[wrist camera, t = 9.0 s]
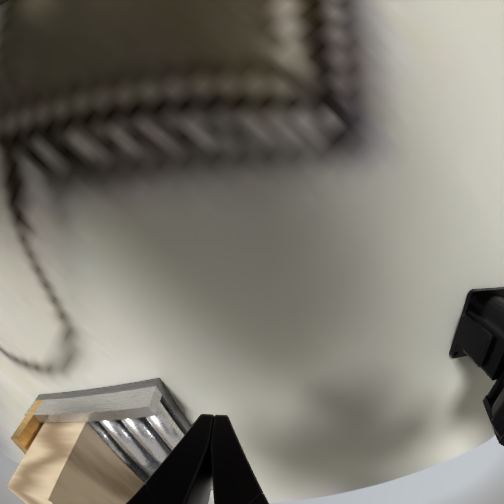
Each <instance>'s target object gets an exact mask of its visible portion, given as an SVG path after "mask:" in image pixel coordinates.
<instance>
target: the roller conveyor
mask: <svg viewBox="0 0 504 504" xmlns="http://www.w3.org/2000/svg"><path fill="white" fill-rule="evenodd" d="M25 416H26V417H25V418H24V419H23V421H22V422H21V424H20V425H19V427H18V428H17V430H16V431H15V433H14V434H13V436H12V437H11V439H12V440H13V441H14V443H15V444H16V445H17V446H18V447H19V448H20V449H21V450H22V451H23V452H24V453H25V454H26V452H27V451H28V449H29V447H30V446H31V444H32V442H33V441H34V439H35V438H36V436H37V434H38V433H39V431H40V429H41V428H42V426H43V425H44V423H45V422H88V424H89V425H90V426H91V427H92V428H93V430H94V431H95V432H96V433H97V434H98V435H99V437H100V438H101V439H102V440H103V441H104V442H105V443H106V444H107V445H108V447H109V448H110V449H111V450H112V451H113V452H114V453H115V454H116V455H117V456H118V457H119V458H120V459H121V460H122V461H123V462H124V463H125V464H126V465H127V466H128V467H129V468H130V469H131V470H132V471H133V472H134V473H135V474H136V475H137V476H138V477H139V478H140V479H141V480H142V481H143V482H144V483H145V482H146V481H147V480H148V479H149V478H150V476H151V475H152V474H153V473H154V472H155V470H156V469H157V468H158V467H159V466H160V464H161V463H162V462H163V461H164V460H165V458H166V457H167V456H168V455H169V454H170V452H171V451H172V450H173V449H174V447H175V446H176V445H177V444H178V443H179V441H180V440H181V439H182V438H183V436H184V435H185V434H186V433H187V431H188V430H189V429H190V427H191V425H190V424H189V422H188V421H187V420H186V418H185V417H184V415H183V414H182V412H181V411H180V409H179V408H178V406H177V405H176V403H175V402H174V400H173V399H172V397H171V396H170V394H169V393H168V391H167V390H166V388H165V387H164V385H163V383H162V382H161V380H160V379H159V378H156V379H151V380H146V381H140V382H134V383H129V384H122V385H116V386H110V387H103V388H96V389H88V390H81V391H72V392H63V393H53V394H42V395H39V396H38V397H37V398H36V400H35V401H34V402H33V404H32V405H31V407H30V408H29V409H28V411H27V412H26V414H25ZM145 484H146V483H145ZM211 490H213V481H212V486H211Z"/></svg>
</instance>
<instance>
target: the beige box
mask: <svg viewBox="0 0 504 504" xmlns="http://www.w3.org/2000/svg"><path fill="white" fill-rule="evenodd" d="M143 484H145V483H144V482H143V481H142V480H141V479H140V478H139V477H138V476H137V475H136V474H135V473H134V472H133V471H132V470H131V469H130V468H129V467H128V466H127V465H126V464H125V463H124V462H123V461H122V460H121V459H120V458H119V457H118V456H117V455H116V454H115V453H114V452H113V451H112V450H111V449H110V448H109V447H108V445H107V444H106V443H105V442H104V441H103V440H102V439H101V438H100V437H99V435H98V434H97V433H96V432H95V431H94V430H93V428H92V427H91V426H90V425H89V424H88V422H45V423H44V425H43V426H42V428H41V429H40V431H39V433H38V434H37V436H36V438H35V439H34V441H33V442H32V444H31V446H30V447H29V449H28V451H27V452H26V454H25V456H24V457H23V459H22V461H21V463H20V464H19V466H18V468H17V470H16V471H15V473H14V475H13V477H12V478H11V480H10V482H9V484H8V486H7V487H8V488H9V489H10V490H11V491H12V492H13V493H15V494H16V495H17V496H18V497H19V498H20V499H22V500H23V501H24V502H25V503H27V504H126V503H127V502H128V501H129V500H130V499H131V498H132V497H133V496H134V495H135V493H136V492H137V491H138V490H139V489H140V488H141V487H142V486H143Z"/></svg>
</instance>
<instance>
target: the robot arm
mask: <svg viewBox="0 0 504 504" xmlns="http://www.w3.org/2000/svg"><path fill="white" fill-rule="evenodd" d="M472 296H473V297H472ZM450 356H451V357H452V358H458V357H463V356H468V357H469V358H470V359H471V360H472V361H473V362H474V363H475V364H476V365H477V366H478V367H481V368H482V370H483V371H484V372H485V373H486V374H487V375H488V376H489V377H490V378H491V379H492V380H496V382H495V384H494V385H493V387H492V389H491V390H490V392H489V393H488V395H486V396H485V398H484V400H483V403H484V406H485V408H486V411H487V414H488V416H489V419H490V421H491V424H492V427H493V430H494V433H495V435H496V437H497V439H498V441H499V443H500V444H501V445H503V446H504V287H499V288H485V289H472V290H470V291H469V293H468V295H467V299H466V303H465V306H464V310H463V313H462V317H461V320H460V323H459V327H458V330H457V333H456V336H455V339H454V342H453V345H452V347H451V350H450ZM212 481H213V493H214V504H269V503H268V501H267V499H266V497H265V495H264V494H263V491H262V489H261V487H260V485H259V483H258V481H257V479H256V477H255V475H254V473H253V471H252V469H251V467H250V464H249V462H248V460H247V458H246V456H245V454H244V451H243V449H242V447H241V445H240V443H239V440H238V438H237V436H236V434H235V431H234V429H233V427H232V424H231V422H230V420H229V417H228V416H227V415H215V416H214V415H211V414H201V415H200V416H199V417H198V419H197V420H196V421H195V422H194V424H193V425H192V426H191V427H190V429H189V430H188V431H187V433H186V434H185V435H184V436H183V438H182V439H181V440H180V441H179V443H178V444H177V445H176V446H175V447H174V449H173V450H172V451H171V452H170V454H169V455H168V456H167V457H166V458H165V460H164V461H163V462H162V463H161V464H160V466H159V467H158V468H157V469H156V470H155V472H154V473H153V474H152V475H151V476H150V478H149V479H148V480H147V481H146V482H145V483H146V484H143V486H142V487H141V488H140V489H139V490H138V491H137V492H136V493H135V495H134V496H133V497H132V498H131V499H130V500H129V501H128V502H127V503H126V504H208V501H209V496H210V491H211V486H212Z"/></svg>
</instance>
